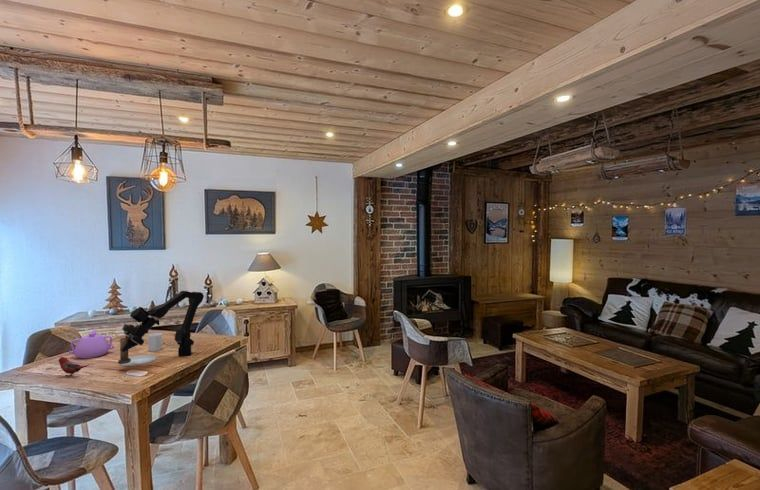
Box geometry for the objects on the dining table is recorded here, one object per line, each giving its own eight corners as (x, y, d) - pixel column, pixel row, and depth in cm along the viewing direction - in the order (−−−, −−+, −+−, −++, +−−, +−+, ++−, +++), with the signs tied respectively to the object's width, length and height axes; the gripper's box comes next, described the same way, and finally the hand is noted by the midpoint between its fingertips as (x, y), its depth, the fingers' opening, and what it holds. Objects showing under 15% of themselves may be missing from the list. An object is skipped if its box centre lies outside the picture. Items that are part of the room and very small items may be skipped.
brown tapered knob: (131, 360, 203) (131, 336, 203) (128, 363, 198) (128, 339, 197) (120, 361, 201) (119, 337, 201) (116, 364, 196) (116, 340, 195)
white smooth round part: (159, 354, 226) (159, 353, 226) (152, 364, 209) (152, 362, 209) (125, 358, 220) (125, 356, 220) (115, 367, 203) (115, 366, 203)
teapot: (115, 347, 242) (115, 326, 241) (113, 356, 223) (113, 333, 223) (72, 353, 230) (72, 331, 229) (66, 362, 211) (66, 338, 211)
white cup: (155, 352, 232) (155, 336, 232) (144, 351, 233) (144, 335, 233) (165, 348, 239) (164, 333, 239) (154, 347, 241) (154, 332, 241)
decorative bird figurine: (60, 374, 192) (60, 355, 192) (91, 376, 190) (91, 357, 190) (55, 376, 189) (55, 357, 189) (86, 378, 187) (86, 358, 187)
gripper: (128, 315, 208) (105, 338, 201) (136, 320, 195) (111, 345, 187) (145, 327, 214) (122, 350, 206) (153, 333, 201) (130, 357, 193)
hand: (121, 350), depth 198 cm, fingers closed on brown tapered knob, 4 cm apart
